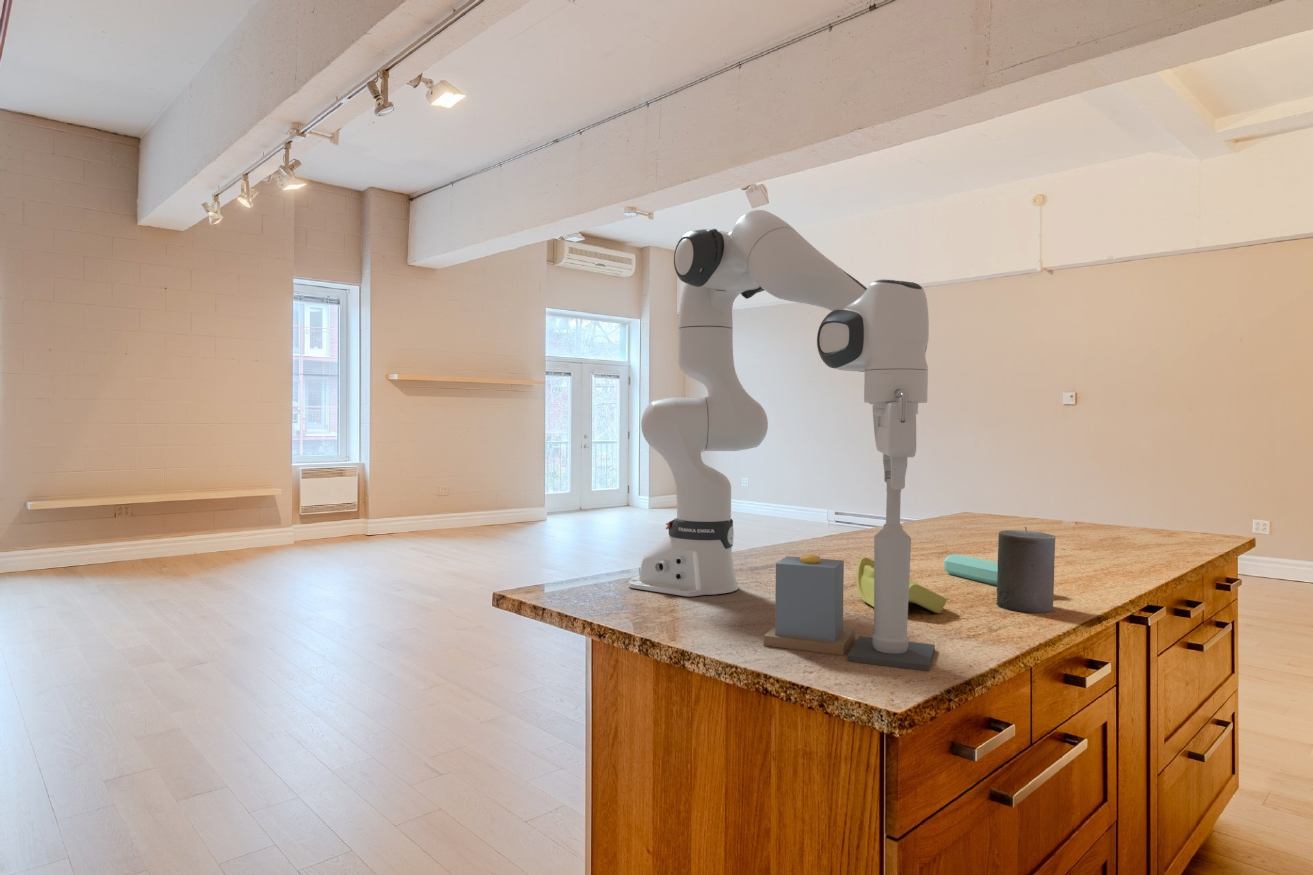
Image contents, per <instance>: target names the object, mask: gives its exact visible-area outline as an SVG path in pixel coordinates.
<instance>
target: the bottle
mask: <svg viewBox="0 0 1313 875" xmlns="http://www.w3.org/2000/svg"><path fill="white" fill-rule="evenodd" d="M885 491H886V505H885V506H886V509H885V511H886V514H885V524H883V525H882V526H883V527H882V529H881V530H879V531H878V532H877V533H876V534H875V535H874V536H873V538H874V539H873V540H874V541H873V544H874V545H873V549H874V551H873V553H874V554H873V555H874V556H873V557H874V558H873V561H874V607H873V634H872V635H871V637H872V644H873V648H874V649H875V650H877V651H880V652H883V653H890V654H901V653H905V652H906V651H907V649H908V644H909V642H910V641H909V637H908V621H909V620H908V618H909V617H908V616H909V603H908V598H909V579H910V576H911V575H910V574H911V572H910V570H911V552H912V551H911V548H912V537H911V536H910V535H909V534H908V533H907V532H906V531H905V530H904V529H903V525H902V524H901V495H902V494H901V493H902V489H893V488H892V487H891V478H887V483H886V490H885Z"/></svg>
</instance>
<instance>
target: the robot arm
mask: <svg viewBox="0 0 1313 875" xmlns="http://www.w3.org/2000/svg"><path fill="white" fill-rule="evenodd" d="M673 266H674V270H675V274H676V275H677V277H678V279H679V280H680V281H681V282H682V283H684V285H683V289H682V293H681V298H680V304H679V311H678V326H677V328H678V329H677V330H678V333H677V334H678V337H677V338H678V341H677V342H678V344H677V345H678V346H677V347H678V349H677V351H678V352H677V363H678V365H679V368H680V370H681V371H682V373H684V374H685V375H686V376H688V377H689V378H691V379H692V380H695V381H697V382H699V383H701V384H703V385H704V386H705V388H706V390H707V395H708V396H705V397H689V396H688V397H686V396H685V397H682V396H681V397H680V396H679V397H678V396H676V397H674V396H673V397H667V398H661V399H658V400H653V401H652V400H651V402H650V403H649V404H648V405H647V406H646V408H645V409H644V411H643V414H642V417H641V422H640V427H641V432H642V436H643V438H644V440H645V441H646V442H647V444H648V445H649V446H650V447H651V448H653V449H654V450H655V451H656V452H658V454H660V455H661V457H662V458H664V461H666V463H667V464H668V466H669V468H670V471H671V472H672V476H673V479H674V483H675V491H676V492H675V493H676V518H674V519H672V520H670V521H668V522H667V523H665V525H667V526H665V530H668V536H667V537H666V538H665V539H663V540H661V541H660V542H659V543H658V544H657V545H655V546H653V548H651V549H650V550H648V551H647V552H646V553H645V554H644V556H643V558H642V560H641V563H640V567H639V574H638V575H637V576H633V577H632V578H631V579H629V581H628V587H629V588H630V589H635V590H636V589H637V590H643V591H649V592H654V593H655V592H657V593H663V594H669V595H676V596H680V597H697V596H706V595H708V596H710V595H719V594H720V595H721V594H727V593H733V592H736V591H737V590H738V589H739V584H738V582H737V577H736V573H735V572H736V571H735V567H734V558H733V549H732V548H733V546H734V545H733V544H734V532H735V530H734V520H733V519H732V484H731V482H730V480H729V479H728V477H727V476H726V475H725V474H723V473H722V472H720V471H718V470H716V469H715V468H713V467H711V466H709V465H707V464H706V463H704V462H703V460H702V459H703V458H702V453H703V452H738V451H745V450H749V449H754V448H757V447H759V446H760V445H761V444H762V443H763V441H764V439H765V438H766V436H767V432H768V426H769V421H768V416H767V413H766V411H765V408H763V406H762V405H761V404H760V403H759V402H758V401H757V400H756V399H754V398H753V397H752V396H751V395H750V394H749V393H748V392H747V390H746V389H745V388H744V387H743V385H742V383H741V382H740V380H739V377H738V375H737V372H736V368H735V367H736V366H735V360H734V348H733V347H734V345H733V342H734V340H733V338H734V336H733V334H734V333H733V332H734V331H733V325H734V324H733V322H734V321H733V306H734V303H735V300H736V298H737V297H738V296H740V295H741V296H742V297H743V298H744V299H746V300H747V299H750V298H753V297H754V295H756V294H758V293H761V292H764V291H765V292H766V293H768V294H769V295H771V296H773V297H775V298H777V299H779V300H784V301H789V302H794V303H798V304H799V303H800V304H806V305H811V306H816V307H819V308H823V309H827V310H829V311H830V312H829V313H828V314H827V315H826V316H825V317H824V318H823V320H822V321H821V323H820V325H819V327H818V330H817V334H816V335H817V336H816V346H817V352H818V354H819V357H820V358H821V361H823V363H824V365H826V366H827V367H828V368H831V369H834V370H839V371H847V372H858V373H859V372H860V373H864V375H863V376H864V380H863V381H864V382H863V383H864V384H863V385H864V386H863V402H864V403H867V404H870V405H872V420H873V432H874V441H875V447H876V451H877V452H879V453H882V464H883V465H882V466H883V472H884V473H883V480H884V482H885V483H886V484H887V478H891V487H892V488H893V489H901V490H904V489H905V487H906V474H907V469H908V458H914V457H915V456H916V453H917V415H918V414H919V404H925V403H927V402H928V386H929V385H928V384H929V382H928V381H929V380H928V379H929V377H928V376H929V369H928V368H929V367H928V363H927V359H926V352H927V348H928V343H929V338H930V337H929V333H930V332H929V331H930V330H929V329H930V328H929V327H930V326H929V324H930V323H929V307H928V299H927V295H926V292H925V289H924V288H923V286H921V285H920V284H918V283H916V282H912V281H904V280H896V279H878V280H875V281H872V282H870V284H868V286H866V285H864V284H863V283H861V282H860V281H859V280H857V279H856V278H855V277H853V275H851V274H849V273H847V272H846V271H845V270H844V269H842V268H841V267H839V266H838V265H837V264H835V263H834V262H833V261H832V260H830V259H829V258H828V257H826V256H825V255H824V254H822V252H820V251H819V250H818V249H817V248H816V247H815V246H813V245H812V244H811V243H810V242H809V241H808V240H806V239H805V237H803V235H801V234H800V233H799V232H798V231H797V230H796V229H795V228H794V227H792V226H791V225H790V224H789V223H788V222H787V221H785V220H783V219H782V218H780V217H778V216H777V215H776V214H773V213H771V212H769V211H767V210H765V209H764V210H763V209H756V210H754V209H753V210H750V211H749V212H746V213H745V214H743V215H741V217H739V218H738V220H737V221H736V222H735V224H734V227H733V228H732V230H731V231H730V232H728V231H721V230H718V229H717V228H706V229H705V228H704V229H703V228H702V229H697V230H696V229H695V230H691V231H688V232H686V233H685V234H683V236H682V237H680V239H679V240H678V241H677V244H676V246H675V250H674V255H673Z"/></svg>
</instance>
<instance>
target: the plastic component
mask: <svg viewBox="0 0 1313 875" xmlns="http://www.w3.org/2000/svg"><path fill="white" fill-rule="evenodd" d="M855 575H856V576H855V577H856V581H855V582H856V589H857V592H858V594H859V596H860V598H861V599H862V600H863V601H864V602H865V603H867V604H868V605H870V606H872V607H873V608H874V559H873V560H872V559H871V558H868V557H867V556H862V557H860V559H859V561H858V564H857V569H856V574H855ZM947 601H948V598H946V597H945V596H943V595H941V594H939V593H936V592H935V591H933V590H931V589H929V588H928V587H925V586H924V585H922V584H919V583H917V582H916V581H913V580H912V579H910V578H909V598H908V604H916V605H918V606H920V607H922V608H924V609H927V610H928V611H930V612H933V613H935V614H941V613H942V612H943V609H944V607H945V605H946V603H947Z"/></svg>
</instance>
